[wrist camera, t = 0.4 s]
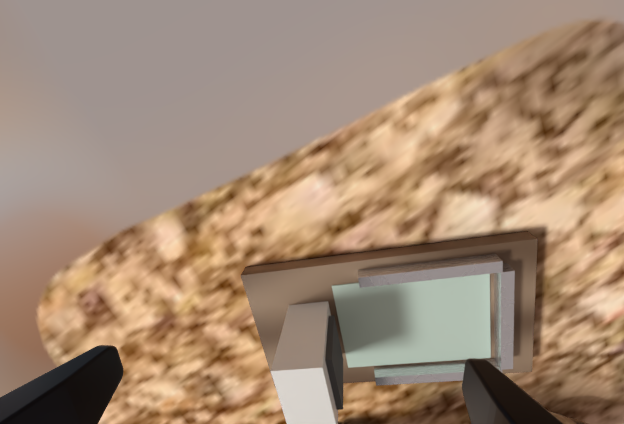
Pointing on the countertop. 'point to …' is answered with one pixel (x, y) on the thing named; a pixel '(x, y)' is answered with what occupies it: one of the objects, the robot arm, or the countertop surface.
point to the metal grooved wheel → (567, 419)
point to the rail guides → (443, 270)
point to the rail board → (402, 305)
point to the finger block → (309, 365)
